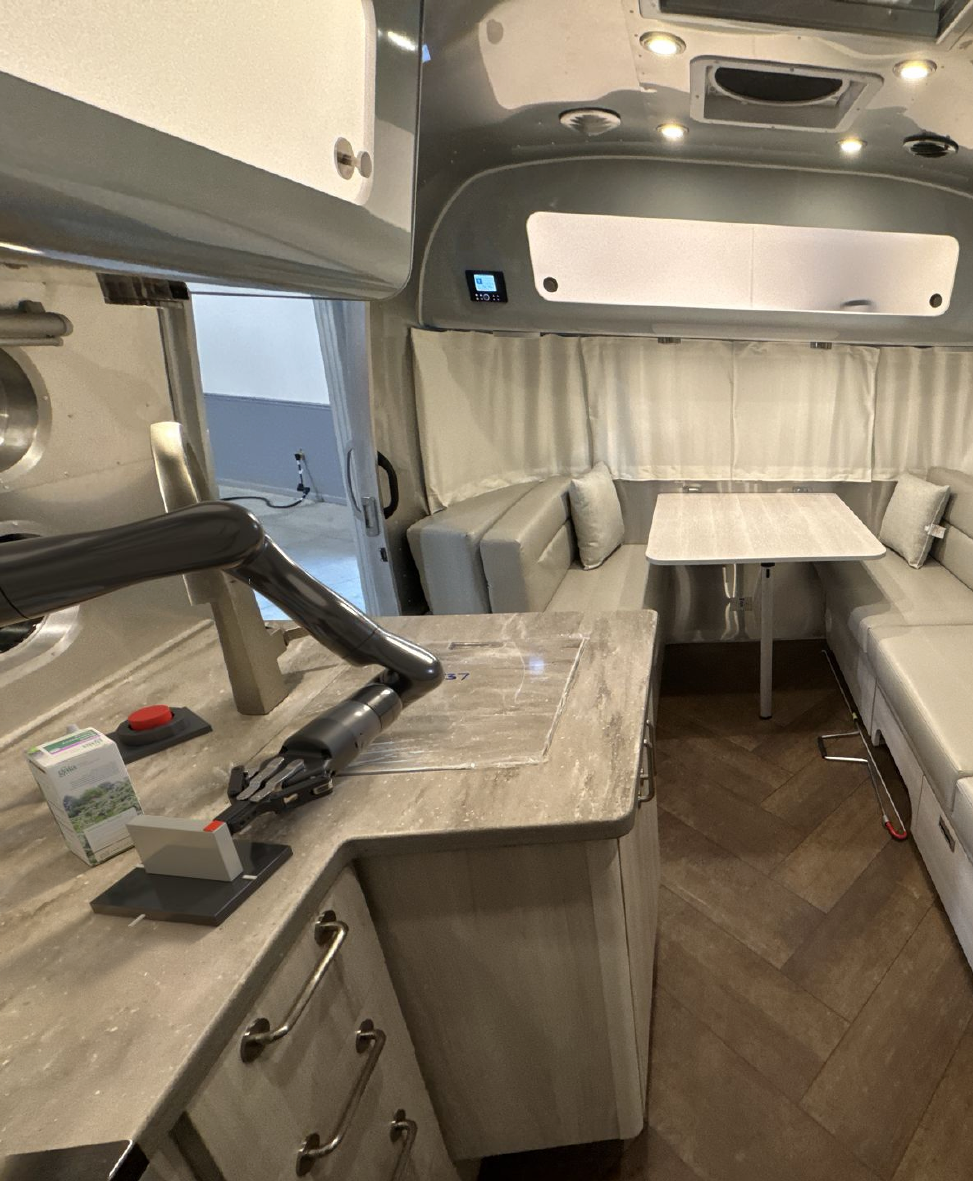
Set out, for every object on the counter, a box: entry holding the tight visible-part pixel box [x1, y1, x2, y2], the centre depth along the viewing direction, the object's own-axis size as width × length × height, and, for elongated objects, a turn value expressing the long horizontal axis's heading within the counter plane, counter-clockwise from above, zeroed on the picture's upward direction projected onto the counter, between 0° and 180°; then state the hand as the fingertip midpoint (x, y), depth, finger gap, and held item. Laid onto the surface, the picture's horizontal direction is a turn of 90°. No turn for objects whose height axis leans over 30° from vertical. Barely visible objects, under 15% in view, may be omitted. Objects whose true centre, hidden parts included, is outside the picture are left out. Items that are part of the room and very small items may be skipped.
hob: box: [88, 825, 294, 928], centre depth 71 cm, size 14×14×2 cm
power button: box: [127, 704, 172, 731], centre depth 93 cm, size 4×4×2 cm
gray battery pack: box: [125, 814, 243, 882], centre depth 69 cm, size 10×2×7 cm, turn 86°
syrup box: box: [22, 726, 146, 868], centre depth 73 cm, size 6×6×14 cm
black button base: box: [104, 706, 214, 766], centre depth 94 cm, size 10×9×3 cm
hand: (219, 831), depth 70 cm, fingers closed
